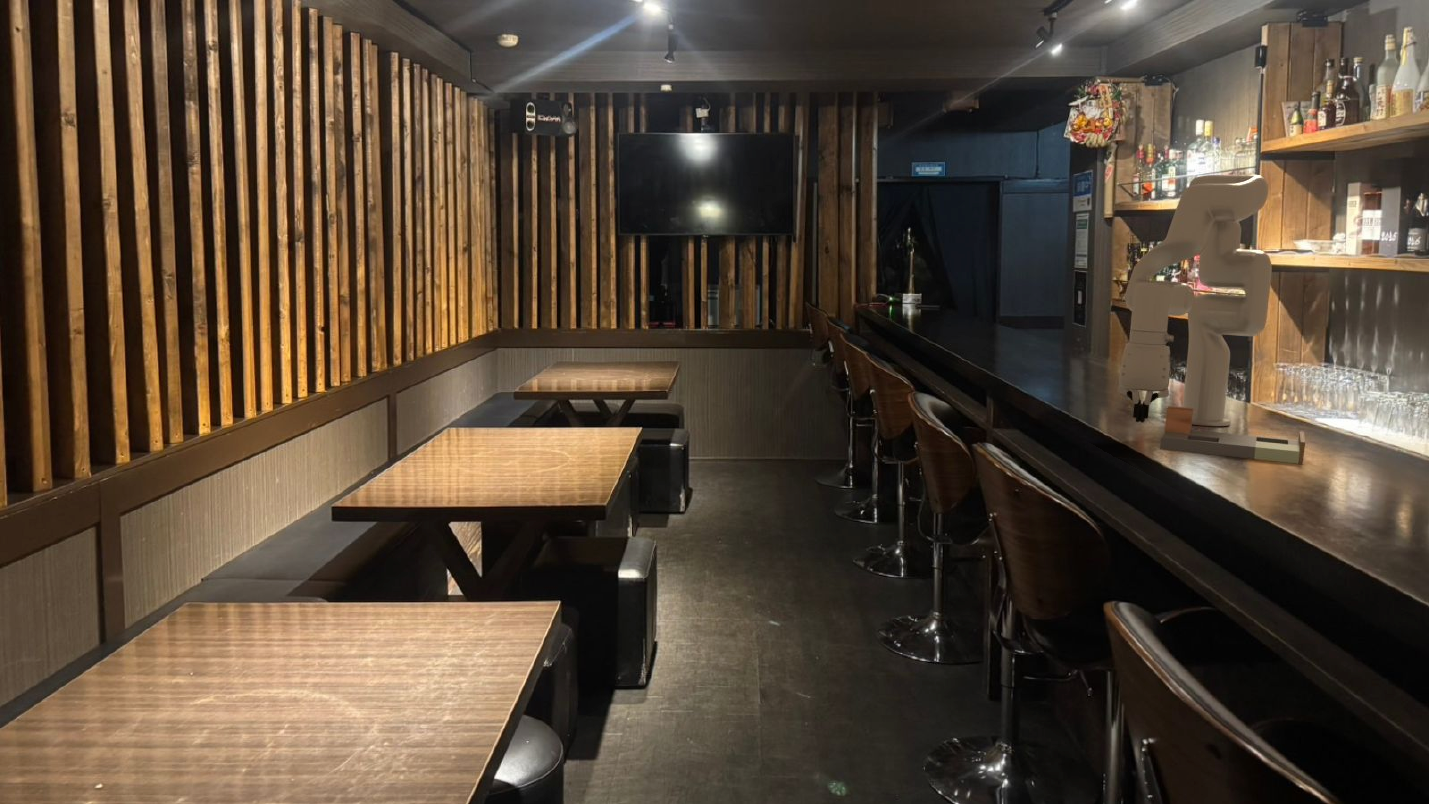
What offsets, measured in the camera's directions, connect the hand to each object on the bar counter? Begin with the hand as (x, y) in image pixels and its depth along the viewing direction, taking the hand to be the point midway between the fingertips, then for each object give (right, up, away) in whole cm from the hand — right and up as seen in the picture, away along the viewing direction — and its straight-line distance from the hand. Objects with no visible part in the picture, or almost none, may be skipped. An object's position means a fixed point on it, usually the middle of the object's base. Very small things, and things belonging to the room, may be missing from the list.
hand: (1140, 421), depth 246 cm
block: (+7, -2, -3) cm, 8 cm away
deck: (+15, -6, -11) cm, 19 cm away
